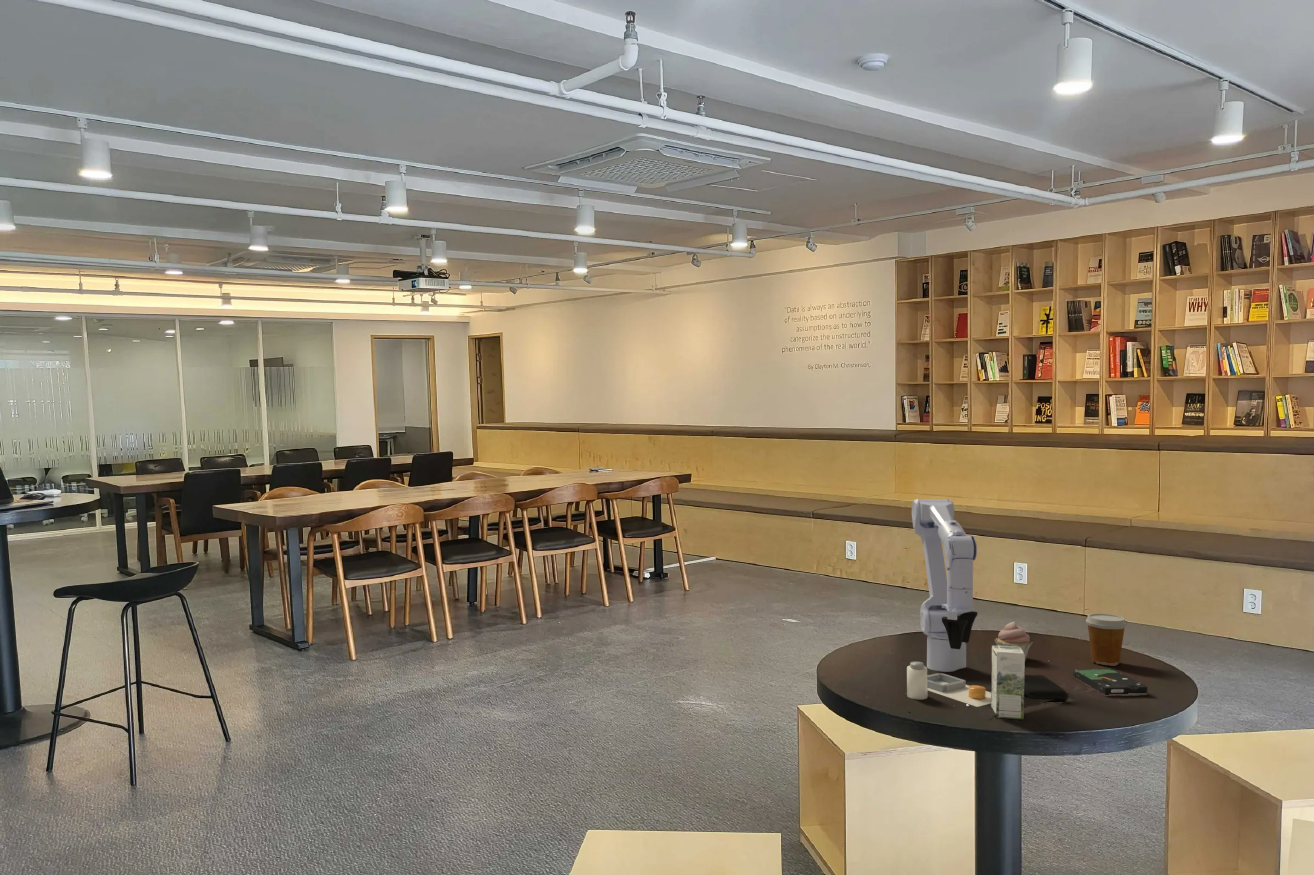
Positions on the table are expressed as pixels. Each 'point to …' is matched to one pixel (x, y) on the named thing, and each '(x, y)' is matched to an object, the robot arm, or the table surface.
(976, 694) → the orange short cylinder
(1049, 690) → the carrying case or bag
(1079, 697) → the table surface
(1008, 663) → the syrup box
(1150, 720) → the table surface
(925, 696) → the cylinder
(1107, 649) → the disposable coffee cup
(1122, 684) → the disk drive
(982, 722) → the table surface
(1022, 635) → the cupcake
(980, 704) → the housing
